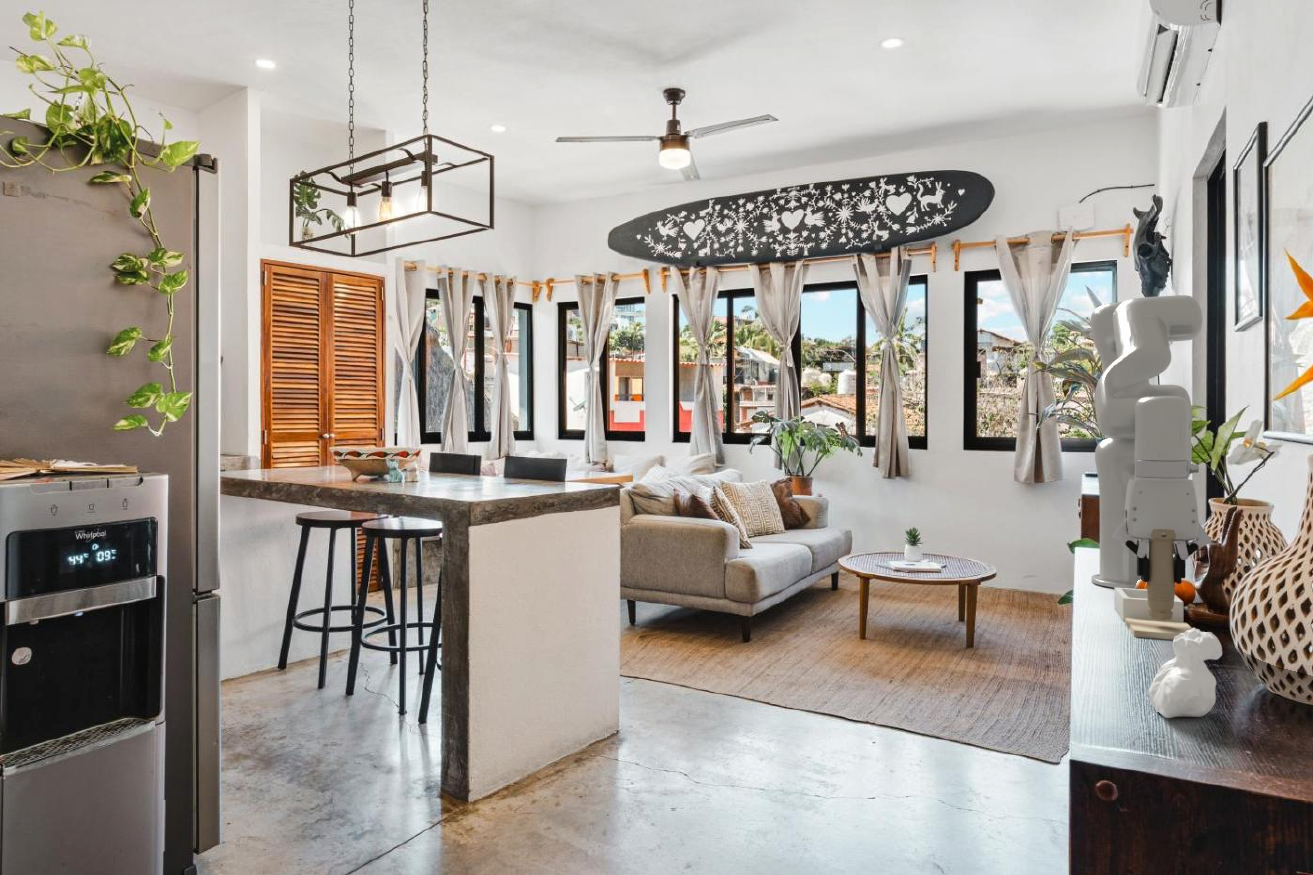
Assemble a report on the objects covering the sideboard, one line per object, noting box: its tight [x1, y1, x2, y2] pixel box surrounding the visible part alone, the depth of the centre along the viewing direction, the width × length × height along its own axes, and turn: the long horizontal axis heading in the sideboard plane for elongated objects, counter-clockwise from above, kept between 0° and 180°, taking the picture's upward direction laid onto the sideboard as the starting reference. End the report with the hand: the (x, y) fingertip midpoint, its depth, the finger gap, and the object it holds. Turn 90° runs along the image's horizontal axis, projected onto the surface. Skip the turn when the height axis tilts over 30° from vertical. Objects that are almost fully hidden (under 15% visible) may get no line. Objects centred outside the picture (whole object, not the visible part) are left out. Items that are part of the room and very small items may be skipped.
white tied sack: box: [1147, 627, 1223, 719], centre depth 97 cm, size 12×8×11 cm
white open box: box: [1113, 587, 1184, 622], centre depth 145 cm, size 10×9×4 cm
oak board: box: [1124, 618, 1193, 641], centre depth 134 cm, size 9×9×1 cm
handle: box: [1147, 529, 1176, 620], centre depth 134 cm, size 5×6×15 cm
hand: (1160, 580), depth 134 cm, fingers closed on handle, 4 cm apart
